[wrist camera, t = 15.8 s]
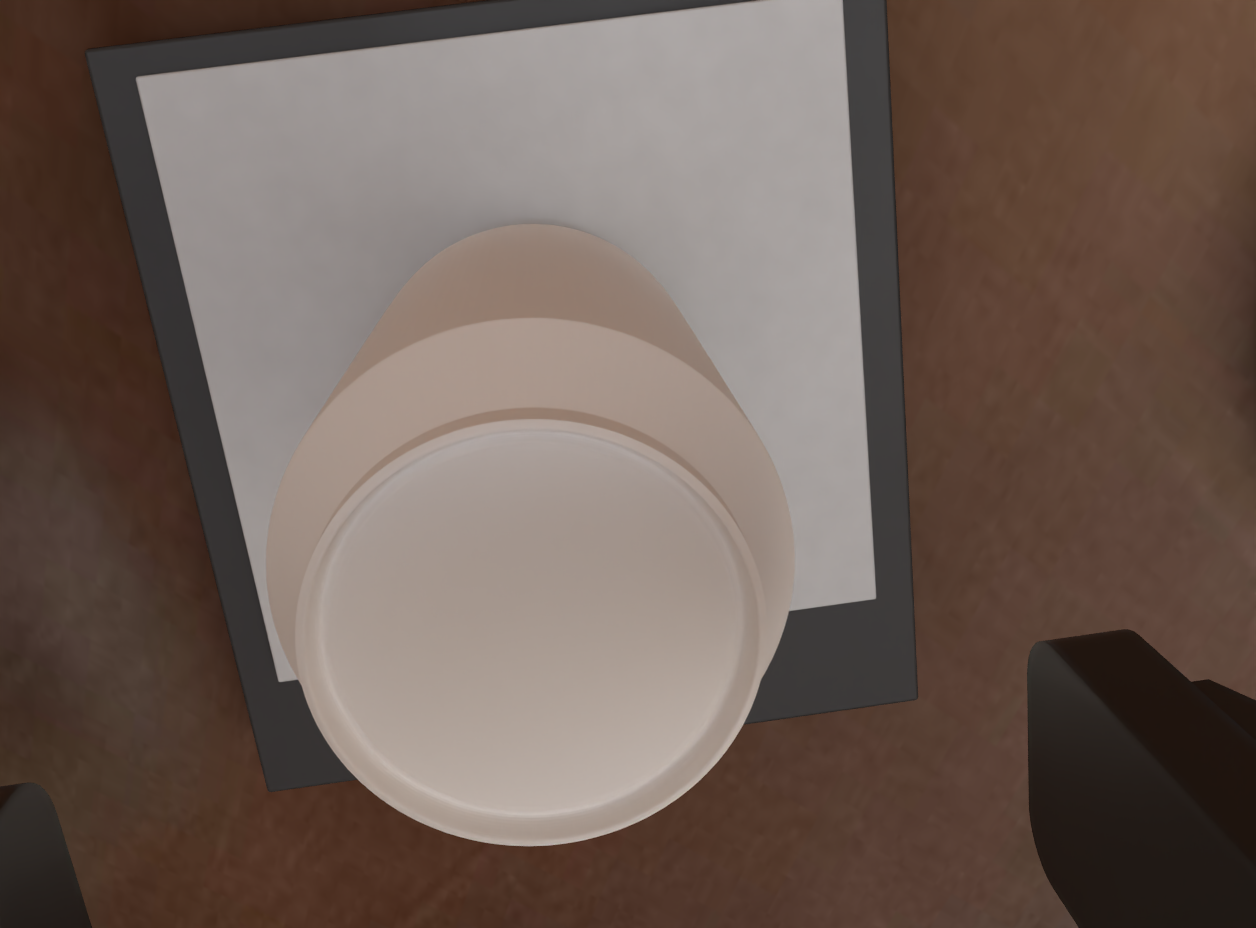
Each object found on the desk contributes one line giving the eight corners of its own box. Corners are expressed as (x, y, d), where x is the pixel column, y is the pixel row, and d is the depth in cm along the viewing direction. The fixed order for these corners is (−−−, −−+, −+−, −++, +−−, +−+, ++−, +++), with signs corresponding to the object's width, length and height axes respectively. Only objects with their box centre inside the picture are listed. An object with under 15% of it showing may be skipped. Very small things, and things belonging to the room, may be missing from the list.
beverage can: (750, 326, 24) (948, 554, 12) (582, 572, 25) (622, 982, 14) (481, 152, 22) (423, 227, 11) (320, 421, 24) (119, 741, 12)
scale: (288, 738, 29) (260, 809, 26) (124, 51, 24) (69, 48, 21) (889, 653, 30) (927, 714, 27) (853, -37, 25) (894, -52, 22)
